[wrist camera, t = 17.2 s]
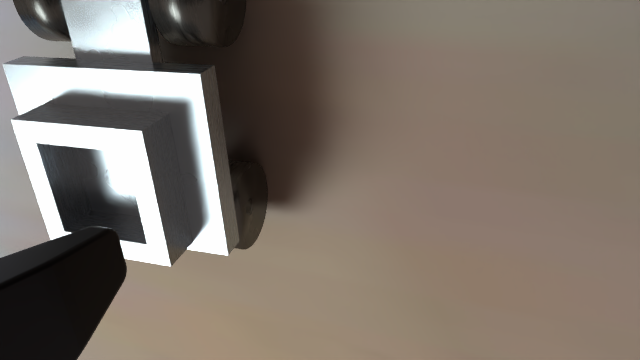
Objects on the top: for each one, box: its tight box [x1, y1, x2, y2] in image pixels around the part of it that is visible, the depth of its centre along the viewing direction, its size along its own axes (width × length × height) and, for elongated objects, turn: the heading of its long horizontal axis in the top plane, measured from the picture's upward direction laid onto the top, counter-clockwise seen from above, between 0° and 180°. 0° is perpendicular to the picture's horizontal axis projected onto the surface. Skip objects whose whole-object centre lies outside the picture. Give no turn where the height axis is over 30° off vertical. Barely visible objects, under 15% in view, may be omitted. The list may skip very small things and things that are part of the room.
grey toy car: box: [3, 0, 267, 266], centre depth 21 cm, size 8×12×6 cm, turn 3°
